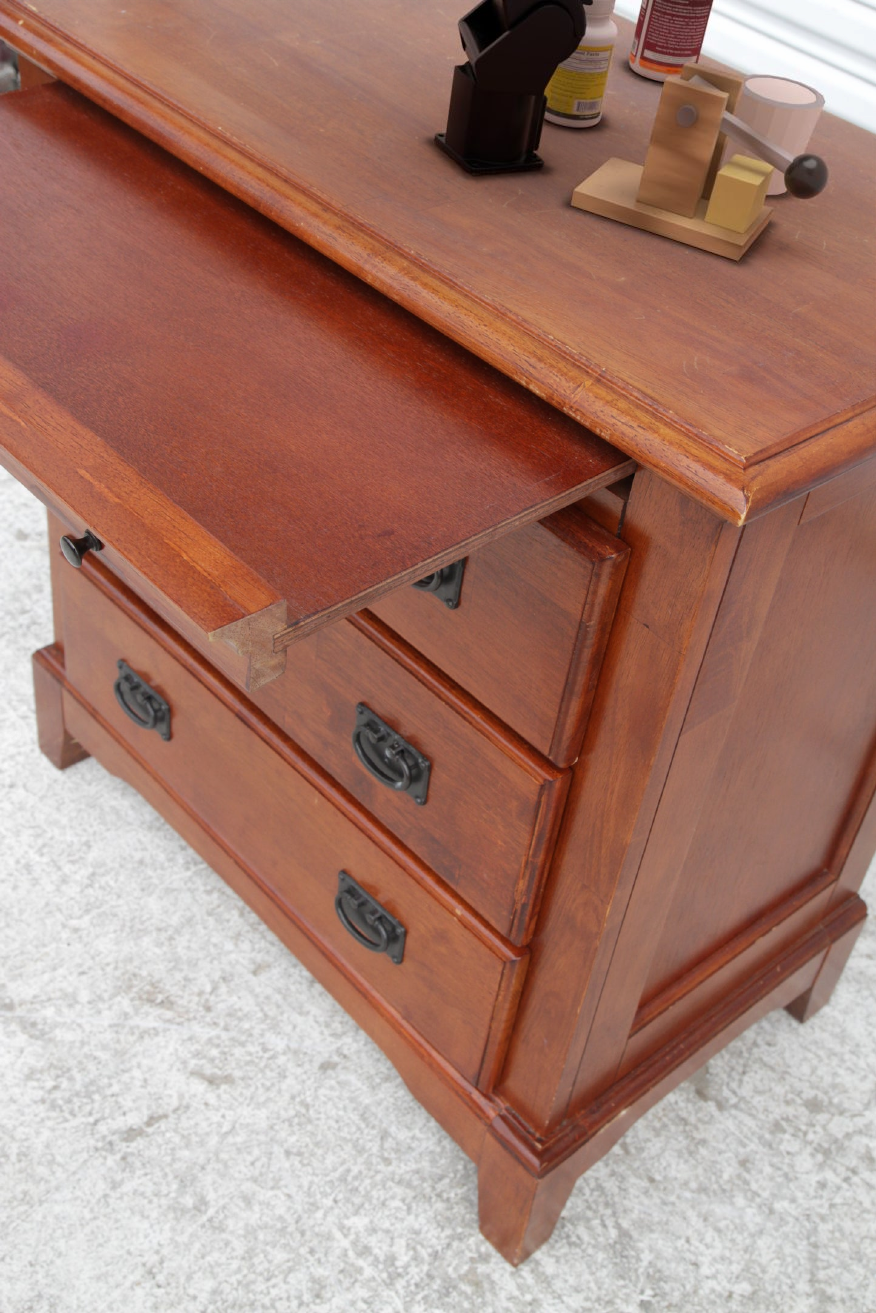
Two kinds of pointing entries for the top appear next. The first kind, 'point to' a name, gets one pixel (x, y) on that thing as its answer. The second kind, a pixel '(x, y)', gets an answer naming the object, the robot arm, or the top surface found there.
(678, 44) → the pill bottle
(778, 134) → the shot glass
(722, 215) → the butter
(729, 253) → the butter cutter
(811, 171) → the lever
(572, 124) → the supplement bottle
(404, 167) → the top surface
